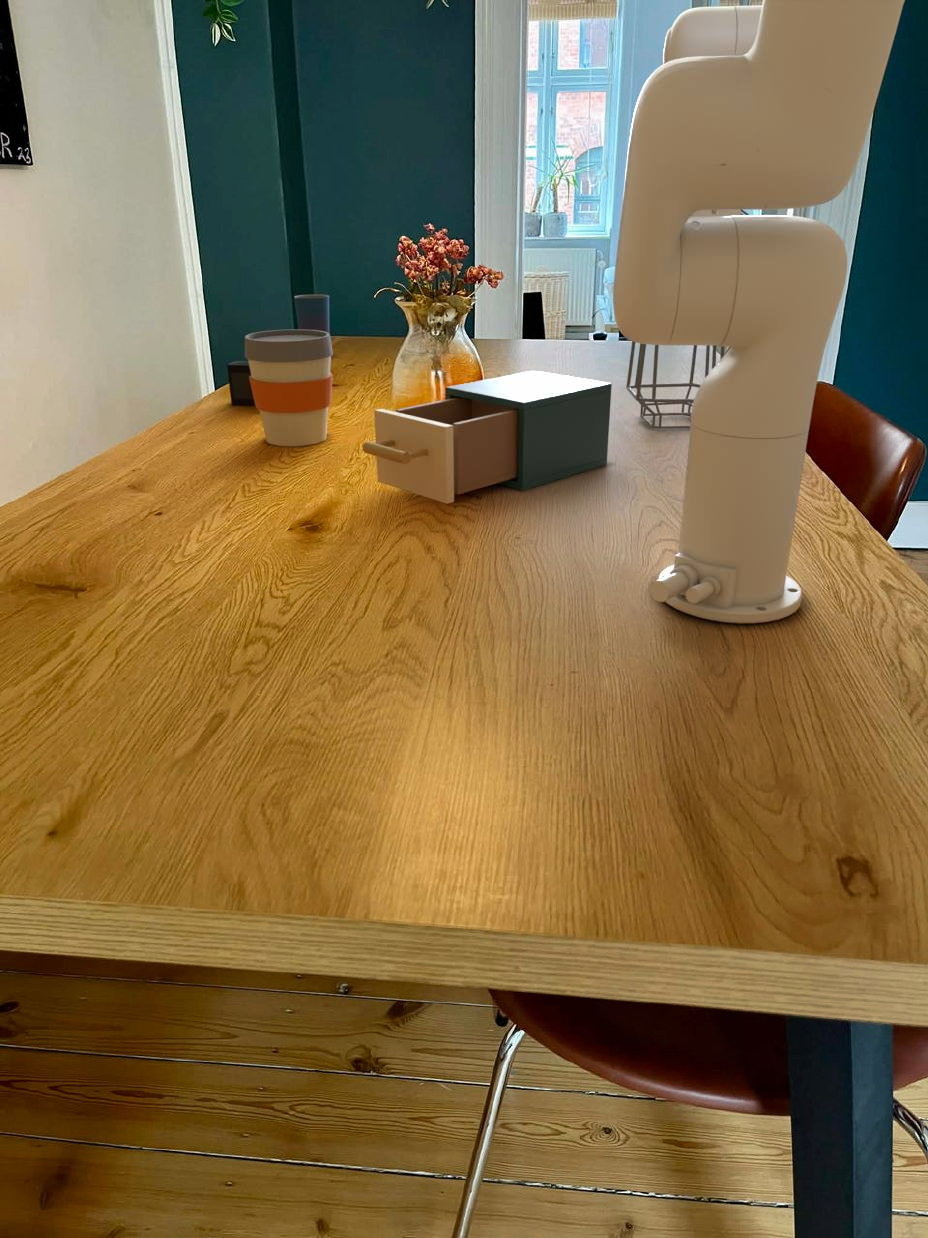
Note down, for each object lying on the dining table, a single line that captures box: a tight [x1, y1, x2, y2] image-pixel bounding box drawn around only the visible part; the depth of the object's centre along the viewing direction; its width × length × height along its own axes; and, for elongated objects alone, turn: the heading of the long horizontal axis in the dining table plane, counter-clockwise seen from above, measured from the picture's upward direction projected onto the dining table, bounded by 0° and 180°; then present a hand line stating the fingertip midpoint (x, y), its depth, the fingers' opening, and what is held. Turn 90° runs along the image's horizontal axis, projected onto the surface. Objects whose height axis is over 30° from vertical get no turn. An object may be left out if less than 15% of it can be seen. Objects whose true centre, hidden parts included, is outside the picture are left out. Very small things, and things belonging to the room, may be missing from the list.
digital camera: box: [226, 360, 256, 407], centre depth 158 cm, size 10×5×7 cm, turn 80°
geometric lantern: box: [625, 210, 750, 430], centre depth 138 cm, size 16×16×35 cm
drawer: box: [362, 397, 519, 505], centre depth 111 cm, size 20×13×9 cm, turn 134°
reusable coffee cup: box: [244, 329, 334, 447], centre depth 134 cm, size 13×13×15 cm
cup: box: [293, 294, 330, 334], centre depth 183 cm, size 7×7×15 cm
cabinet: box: [444, 369, 613, 491], centre depth 120 cm, size 17×14×11 cm
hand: (684, 330), depth 107 cm, fingers closed on snack box, 4 cm apart
